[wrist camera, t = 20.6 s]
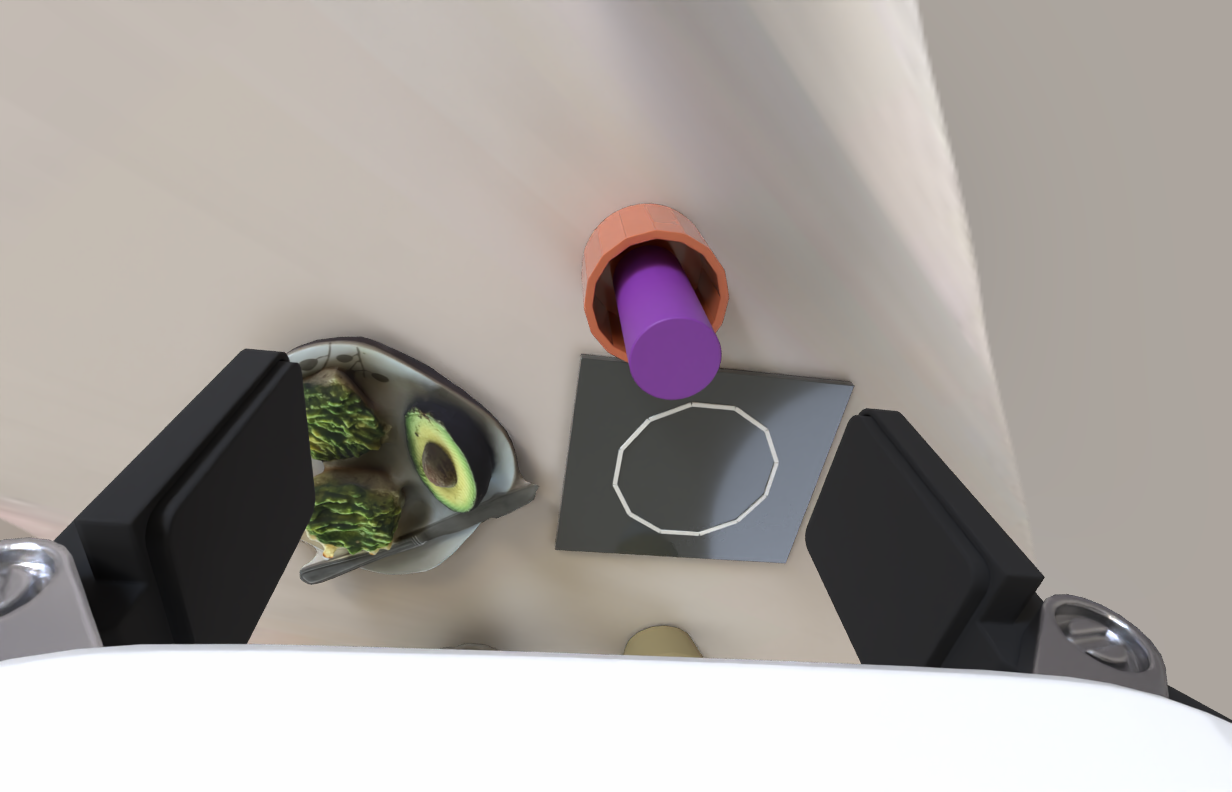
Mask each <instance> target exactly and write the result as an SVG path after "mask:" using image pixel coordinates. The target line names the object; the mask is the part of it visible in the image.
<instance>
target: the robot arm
mask: <svg viewBox="0 0 1232 792" xmlns="http://www.w3.org/2000/svg"><path fill="white" fill-rule="evenodd" d="M314 507H315V487H314V478H313V469H312V459H311V450H310V441H309V432H308V423H307V414H306V405H305V396H304V386H303V377H302V370H301V367H300V364H298V363H297V362H290V359H289V357H288V355H287V354H286V353H285V352H276V351H265V350H255V349H244V350H242V351H241V352H240V353H239V354H238V355H237V356H236V357H235V358H234V359H233V360H232V361H231V362H230V363H229V364H228V365H227V366H226V367H225V368H224V369H223V370H222V371H221V372H220V373H219V374H218V375H217V376H216V377H215V378H214V379H213V380H212V381H211V382H210V383H209V384H208V385H207V386H206V387H205V388H204V389H203V390H202V391H201V392H200V393H199V394H198V395H197V396H196V397H195V398H194V399H193V400H192V401H191V402H190V403H189V404H188V405H187V406H186V407H185V408H184V409H183V410H182V411H181V412H180V413H179V414H178V415H177V416H176V417H175V418H174V419H173V420H172V421H171V422H170V423H169V424H168V425H167V426H166V427H165V429H164V430H163V431H162V432H161V433H160V434H159V435H158V436H157V437H156V438H155V439H154V440H153V441H152V442H151V443H150V444H149V445H148V446H147V447H146V448H145V449H144V450H143V451H142V452H141V453H140V454H139V455H138V456H137V457H136V458H135V459H134V460H133V461H132V462H131V463H130V464H129V465H128V466H127V467H126V468H125V469H124V470H123V471H122V472H121V473H120V474H119V475H118V476H117V477H116V478H115V479H114V480H113V481H112V482H111V483H110V484H109V485H108V486H107V487H106V488H105V489H104V490H103V491H102V492H101V493H100V494H99V495H98V496H97V497H96V498H95V499H94V500H93V501H92V502H91V503H90V504H89V505H88V506H87V507H86V508H85V509H84V510H83V511H82V512H81V513H80V514H79V515H78V516H77V517H76V518H75V519H74V521H73V522H72V523H71V524H70V525H69V526H68V527H67V528H66V529H65V530H64V531H63V532H62V533H61V534H60V535H59V536H58V537H57V538H56V539H55V540H54V541H51V540H47V539H39V538H17V539H16V538H15V539H4V540H0V792H1232V720H1230V719H1229V718H1227V717H1225V716H1223V715H1221V714H1220V713H1218V712H1216V711H1214V710H1212V709H1210V708H1209V707H1207V706H1205V705H1203V704H1201V703H1200V702H1198V701H1196V700H1194V699H1192V698H1190V697H1189V696H1187V695H1185V694H1183V693H1181V692H1180V691H1178V690H1176V689H1174V688H1172V687H1170V686H1168V685H1167V676H1166V668H1165V664H1164V662H1163V659H1162V656H1161V654H1160V653H1159V651H1158V650H1157V648H1156V647H1155V646H1154V644H1153V643H1152V642H1151V640H1150V639H1148V638H1147V637H1146V636H1145V635H1144V634H1143V633H1142V632H1141V631H1140V630H1139V629H1138V628H1137V627H1136V626H1134V625H1133V624H1132V623H1130V622H1129V621H1127V620H1126V619H1125V618H1123V617H1122V616H1121V615H1119V614H1117V613H1115V612H1113V611H1112V610H1110V609H1108V608H1106V607H1104V606H1103V605H1101V604H1098V603H1096V602H1093V601H1091V600H1088V599H1085V598H1082V597H1078V596H1073V595H1069V594H1066V595H1065V594H1062V595H1053V596H1051V597H1049V598H1046V599H1045V601H1044V602H1043V601H1042V599H1041V598H1040V597H1039V596H1038V595H1037V593H1036V592H1035V591H1036V590H1037V588H1038V587H1039V585H1040V584H1041V582H1042V581H1043V579H1044V576H1043V575H1042V574H1041V572H1039V570H1038V569H1037V568H1036V567H1035V566H1034V564H1033V563H1032V562H1031V561H1030V560H1029V559H1028V558H1027V556H1026V555H1025V554H1024V553H1023V552H1022V551H1021V550H1020V548H1019V547H1018V546H1017V545H1016V544H1015V543H1014V542H1013V540H1012V539H1011V538H1010V537H1009V536H1008V535H1007V534H1006V532H1005V531H1004V530H1003V529H1002V528H1001V527H1000V526H999V524H998V523H997V522H996V521H995V520H994V519H993V518H992V516H991V515H990V514H989V513H988V512H987V511H986V510H985V508H984V507H983V506H982V505H981V504H980V503H979V502H978V500H977V499H976V498H975V497H974V496H973V495H972V494H971V493H970V491H969V490H968V489H967V488H966V487H965V486H964V485H963V483H962V482H961V481H960V480H959V479H958V478H957V477H956V475H955V474H954V473H953V472H952V471H951V470H950V469H949V467H948V466H947V465H946V464H945V463H944V462H943V461H942V459H941V458H940V457H939V456H938V455H937V454H936V453H935V451H934V450H933V449H932V448H931V447H930V446H929V445H928V443H927V442H926V441H925V440H924V439H923V438H922V437H921V435H920V434H919V433H918V432H917V431H916V430H915V429H914V427H913V426H912V425H911V424H910V423H909V422H908V421H907V420H906V418H905V417H904V416H903V415H902V414H901V413H899V412H898V411H890V410H879V409H869V408H866V409H864V410H862V411H861V412H860V413H859V415H855V416H852V418H851V419H850V420H849V422H848V424H847V427H846V429H845V432H844V434H843V437H842V439H841V442H840V444H839V447H838V449H837V452H836V455H835V457H834V460H833V462H832V465H831V467H830V470H829V472H828V475H827V477H826V480H825V482H824V485H823V487H822V490H821V493H820V495H819V498H818V500H817V503H816V505H815V508H814V510H813V513H812V515H811V518H810V520H809V523H808V526H807V529H806V534H805V541H806V546H807V549H808V551H809V554H810V556H811V558H812V560H813V562H814V564H815V566H816V568H817V571H818V573H819V575H820V577H821V579H822V581H823V583H824V585H825V588H826V590H827V592H828V594H829V596H830V598H831V600H832V603H833V605H834V607H835V609H836V611H837V613H838V615H839V617H840V620H841V622H842V624H843V626H844V628H845V630H846V632H847V634H848V637H849V639H850V641H851V643H852V645H853V647H854V649H855V652H856V654H857V656H858V658H859V660H860V662H861V664H843V663H819V662H796V661H772V660H747V659H720V658H693V657H666V656H639V655H610V654H581V653H553V652H522V651H489V650H456V649H423V648H390V647H357V646H318V645H275V644H247V642H248V640H249V639H250V637H251V635H252V633H253V631H254V629H255V627H256V625H257V623H258V621H259V619H260V617H261V615H262V613H263V611H264V609H265V607H266V605H267V603H268V601H269V599H270V597H271V596H272V594H273V592H274V590H275V588H276V586H277V584H278V582H279V580H280V578H281V576H282V574H283V572H284V570H285V568H286V566H287V564H288V562H289V560H290V558H291V556H292V554H293V553H294V551H295V549H296V547H297V545H298V543H299V541H300V539H301V537H302V535H303V533H304V531H305V529H306V527H307V525H308V523H309V521H310V519H311V517H312V515H313V511H314Z"/></svg>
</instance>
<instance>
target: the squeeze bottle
mask: <svg viewBox="0 0 1232 792" xmlns="http://www.w3.org/2000/svg"><path fill="white" fill-rule="evenodd" d="M623 655H639V656H666V657H693V658H703V656H702V655H701V653H700V652H699V650H698V649H697V647H696V645H695V644H694V642H693V641H692V639H691V638H690V636H689V635H688V634H687V633H686V632H684V631H682V630H681V629H679V628H675V627H669V626H657V627H650V628H648V629H645V630H643V631H640V632H638V633H637V634H636V635H634V636H633V637H632V638H631V639H630V640H629V641H628V643H627V645H626V647H625V650H624V654H623Z"/></svg>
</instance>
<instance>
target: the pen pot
mask: <svg viewBox="0 0 1232 792" xmlns="http://www.w3.org/2000/svg"><path fill="white" fill-rule="evenodd" d="M647 245H654V246H659V247H662V248H665V249H667V250H669V251H670V252H672V253H673V254H674V255H675V256H676V257H677V259H678V260H679V262H680V264H681V266H682V268H683V270H684V272H685V274H686V276H687V278H688V280H689V282H690V284H691V286H692V288H693V290H694V292H695V294H696V296H697V298H698V300H699V302H700V304H701V306H702V308H703V310H704V312H705V314H706V316H707V318H708V320H709V322H710V324H711V326H712V328H713V330H714V332H715V333H716V332H717V330H718V329H719V328H720V326H721V325H722V323H723V320H724V316H725V312H726V308H727V304H728V300H729V293H728V286H727V280H726V274H725V271H724V269H723V267H722V266H721V264H720V263H719V261H718V260H717V258H716V257H715V255H714V254H713V252H712V251H711V249H710V248H709V246H708V245H707V243H706V242H705V240H704V239H703V237H702V236H701V234H700V233H699V231H698V230H697V228H696V227H695V225H694V224H693V222H691V221H690V220H689V219H688V218H687V217H685V216H684V215H682V214H681V213H680V212H678V211H676V210H674V209H672V208H669V207H666V206H663V205H658V204H637V205H632V206H629V207H626V208H623V209H621V210H619V211H617V212H615V213H613V214H612V215H610V216H609V217H607V218H606V219H605V220H604V221H603V222H601V223H600V225H599V226H598V227H597V228H596V229H595V230H594V232H593V233H592V235H591V236H590V238H589V240H588V242H587V245H586V248H585V251H584V255H583V260H582V272H581V276H582V289H583V302H584V310H585V314H586V317H587V320H588V324H589V327H590V331H591V333H592V334H593V336H594V337H595V338H596V339H597V340H598V341H599V343H600V344H601V345H602V346H603V347H604V348H605V350H606V351H607V352H608V353H610V354H612V355H614V356H616V357H618V358H620V359H622V360H624V361H626V362H628V358H627V353H626V348H625V343H624V338H623V333H622V327H621V322H620V317H619V312H618V307H617V302H616V297H615V292H614V287H613V275H614V271H615V268H616V266H617V264H618V263H619V261H620V260H621V259H622V257H623V256H624V255H626V254H627V253H628V252H630V251H631V250H633V249H635V248H638V247H641V246H647Z"/></svg>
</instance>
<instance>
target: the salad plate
mask: <svg viewBox="0 0 1232 792" xmlns="http://www.w3.org/2000/svg"><path fill="white" fill-rule="evenodd" d="M287 355H288V357H289V359H290V362H297V363H298V364H300V367H301V370H302V377H303V386H304V396H305V405H306V414H307V423H308V432H309V441H310V450H311V459H312V469H313V478H314V487H315V507H314V511H313V515H312V517H311V519H310V521H309V523H308V525H307V527H306V529H305V531H304V533H303V535H302V537H301V539H300V540H302V541H304V542H306V543H308V544H310V545H312V546H313V547H314V548H315V549H316V551H317V554H316V556H315V557H314V558H313V559H312V560H311V562H309V563H307V564H306V565H304V566H303V567H302V568H301V570H300V579H301V580H302V581H304V582H305V583H307V584H311V585H312V584H317V583H321V582H325V581H327V580H329V579H332V578H335V577H337V576H340V575H342V574H345V573H347V572H349V571H352V570H354V569H357V568H362V569H365V570H369V571H373V572H376V573H382V574H393V575H395V574H409V573H418V572H424V571H427V570H430V569H433V568H435V567H437V566H439V565H440V564H441V563H442V562H443V561H445V560H446V559H447V558H449V557H450V556H451V555H452V554H453V553H454V552H455V551H456V550H457V549H458V548H459V547H460V545H462V544H463V542H464V541H465V540H466V539H467V538H468V537H469V536H470V535H471V534H472V533H473V532H474V531H475V529H476V528H477V527H478V526H479V524H480V523H481V522H484V521H485V520H487V519H489V518H499V517H501V516H503V515H506V514H508V513H510V512H512V511H515V510H516V509H518V508H520V507H523V506H524V505H526V504H528V503H529V502H531V501H532V500H534V497H535V494H536V491H537V489H538V487H539V486H538V485H535V484H532V483H529V482H527V481H526V480H524V479H523V477H522V475H521V474H520V471H519V468H518V463H517V458H516V454H515V449H514V447H513V444H512V441H511V439H510V437H509V435H508V433H507V431H506V430H505V429H504V428H503V427H502V425H501V424H500V423H499V422H498V421H497V419H496V418H495V417H494V416H493V415H492V414H491V413H490V412H489V411H488V410H487V409H485V408H484V407H483V406H482V405H481V404H480V403H479V402H477V401H476V400H475V399H473V398H472V397H471V396H469V395H468V394H467V393H466V392H465V391H463V390H462V389H461V388H459V387H458V386H456V385H455V384H453V383H452V382H450V381H449V380H448V379H446V378H445V377H443V376H442V375H440V374H439V373H438V372H436V371H435V370H434V369H432V368H431V367H429V366H427V365H425V364H423V363H421V362H419V361H418V360H416V359H414V358H412V357H410V356H408V355H406V354H404V353H402V352H399V351H397V350H395V349H392V348H390V347H388V346H386V345H383V344H381V343H379V342H376V341H374V340H371V339H368V338H364V337H337V338H329V339H321V340H316V341H313V342H310V343H307V344H304V345H301V346H299V347H296V348H295V349H293V350H291V351H290V352H288V353H287Z"/></svg>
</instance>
